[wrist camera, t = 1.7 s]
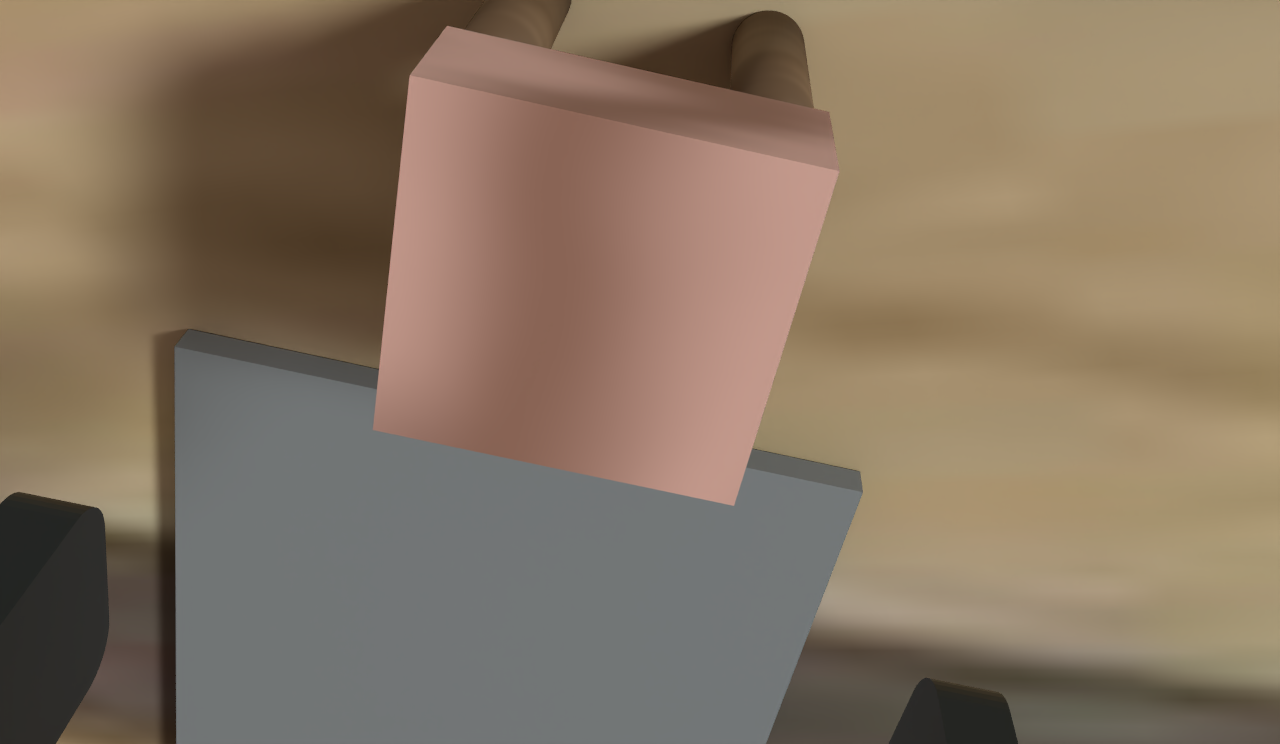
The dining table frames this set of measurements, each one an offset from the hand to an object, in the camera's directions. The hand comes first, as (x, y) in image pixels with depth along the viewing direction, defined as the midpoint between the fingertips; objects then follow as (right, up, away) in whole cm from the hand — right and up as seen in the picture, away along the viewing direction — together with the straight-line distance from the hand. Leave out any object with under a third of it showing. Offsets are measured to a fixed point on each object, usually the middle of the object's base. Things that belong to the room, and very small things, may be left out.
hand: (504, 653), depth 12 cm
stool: (+1, +8, +13) cm, 15 cm away
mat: (-3, -6, +22) cm, 23 cm away
